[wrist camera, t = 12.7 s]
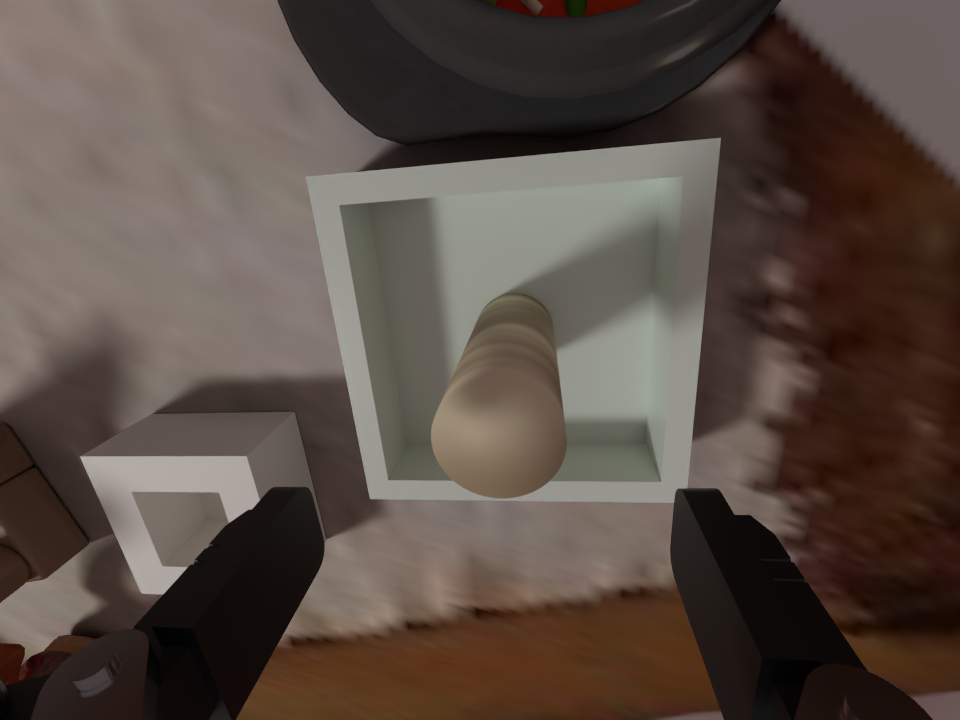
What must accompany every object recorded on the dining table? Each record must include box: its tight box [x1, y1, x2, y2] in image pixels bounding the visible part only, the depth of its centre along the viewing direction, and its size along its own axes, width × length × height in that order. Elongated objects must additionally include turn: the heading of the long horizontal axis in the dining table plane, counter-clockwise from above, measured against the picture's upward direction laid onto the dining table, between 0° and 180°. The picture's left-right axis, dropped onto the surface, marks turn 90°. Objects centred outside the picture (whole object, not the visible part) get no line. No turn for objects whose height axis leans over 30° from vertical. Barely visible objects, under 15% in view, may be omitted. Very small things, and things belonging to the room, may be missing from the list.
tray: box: [306, 138, 721, 503], centre depth 22 cm, size 16×16×4 cm
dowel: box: [431, 293, 567, 498], centre depth 18 cm, size 4×4×11 cm
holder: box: [80, 412, 326, 595], centre depth 28 cm, size 10×10×5 cm
